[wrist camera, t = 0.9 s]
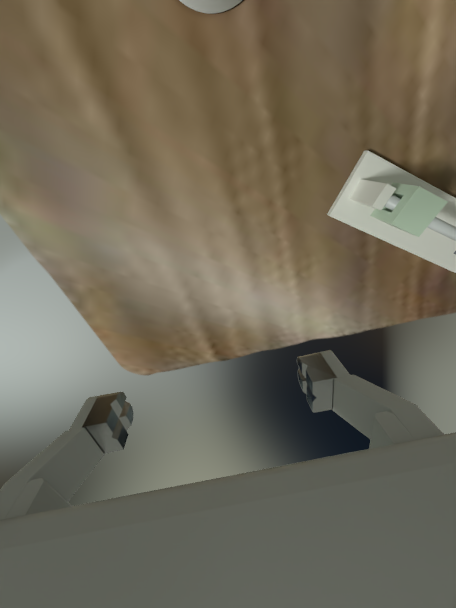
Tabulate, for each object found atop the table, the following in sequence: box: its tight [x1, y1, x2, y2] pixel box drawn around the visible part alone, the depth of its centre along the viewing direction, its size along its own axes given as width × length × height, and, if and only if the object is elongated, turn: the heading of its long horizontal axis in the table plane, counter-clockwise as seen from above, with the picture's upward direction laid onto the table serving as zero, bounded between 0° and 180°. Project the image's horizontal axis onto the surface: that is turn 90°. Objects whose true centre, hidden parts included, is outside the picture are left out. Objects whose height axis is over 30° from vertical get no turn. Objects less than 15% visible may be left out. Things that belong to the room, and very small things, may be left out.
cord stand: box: [327, 151, 456, 273], centre depth 37 cm, size 10×30×10 cm, turn 69°
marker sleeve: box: [370, 182, 448, 237], centre depth 34 cm, size 5×5×5 cm
